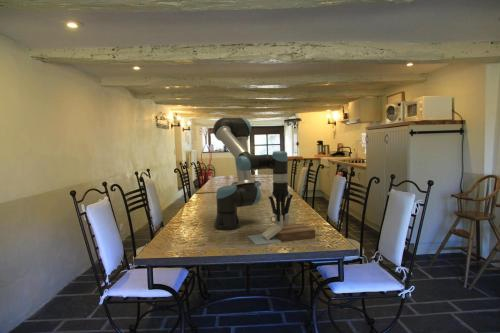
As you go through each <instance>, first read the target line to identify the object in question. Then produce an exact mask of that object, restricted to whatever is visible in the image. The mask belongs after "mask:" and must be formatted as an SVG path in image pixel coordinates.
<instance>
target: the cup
mask: <svg viewBox="0 0 500 333" xmlns="http://www.w3.org/2000/svg"><path fill="white" fill-rule="evenodd" d="M280 214H281V211H280ZM273 217H274V220H273ZM269 220H270V222H271V223H272V224H277V225H278V221H277V215H275V214H272V215H271V216H270V218H269ZM289 221H290V213H289V212H288V213H287V214H286V215H285V221H283V225H289Z"/></svg>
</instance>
